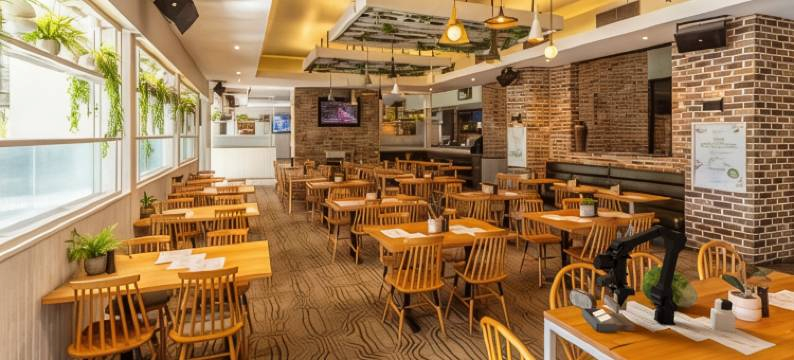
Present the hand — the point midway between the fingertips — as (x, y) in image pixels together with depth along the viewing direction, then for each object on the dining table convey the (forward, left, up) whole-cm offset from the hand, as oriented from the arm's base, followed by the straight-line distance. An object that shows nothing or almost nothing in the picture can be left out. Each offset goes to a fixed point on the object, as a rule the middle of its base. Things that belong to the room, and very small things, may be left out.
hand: (617, 305), depth 205 cm
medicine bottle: (-43, +1, -8) cm, 44 cm away
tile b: (+5, +3, -7) cm, 9 cm away
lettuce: (-34, -25, -8) cm, 43 cm away
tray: (+8, 0, -8) cm, 11 cm away
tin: (+8, -19, -9) cm, 22 cm away
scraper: (-1, 0, -1) cm, 2 cm away
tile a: (+5, -3, -7) cm, 9 cm away
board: (-1, 0, -8) cm, 8 cm away
